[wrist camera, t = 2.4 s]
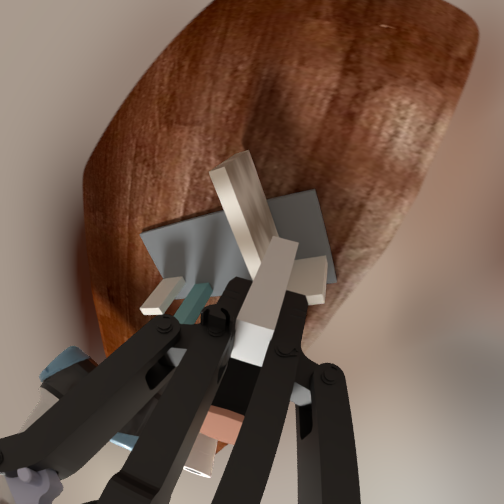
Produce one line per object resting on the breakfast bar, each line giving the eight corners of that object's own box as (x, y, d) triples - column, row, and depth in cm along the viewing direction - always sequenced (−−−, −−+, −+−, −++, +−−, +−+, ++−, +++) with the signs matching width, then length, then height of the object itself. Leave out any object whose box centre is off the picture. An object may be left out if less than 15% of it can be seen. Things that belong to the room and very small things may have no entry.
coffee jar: (215, 307, 42) (163, 405, 27) (277, 293, 37) (237, 412, 22) (247, 351, 46) (212, 442, 31) (305, 343, 41) (282, 449, 26)
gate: (285, 256, 32) (273, 294, 27) (273, 258, 33) (259, 296, 27) (248, 149, 27) (224, 166, 21) (235, 154, 27) (208, 171, 22)
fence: (166, 284, 41) (143, 314, 36) (163, 278, 41) (139, 308, 35) (327, 263, 32) (324, 303, 26) (325, 255, 31) (322, 294, 26)
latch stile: (201, 290, 41) (163, 349, 31) (196, 281, 40) (157, 341, 30) (214, 288, 40) (178, 351, 30) (210, 279, 39) (171, 341, 29)
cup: (190, 415, 73) (168, 461, 59) (212, 414, 68) (190, 467, 53) (213, 430, 76) (195, 474, 62) (236, 430, 71) (218, 479, 56)
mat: (176, 296, 43) (175, 299, 43) (141, 232, 38) (139, 234, 37) (336, 279, 33) (336, 282, 33) (315, 188, 28) (314, 190, 28)
